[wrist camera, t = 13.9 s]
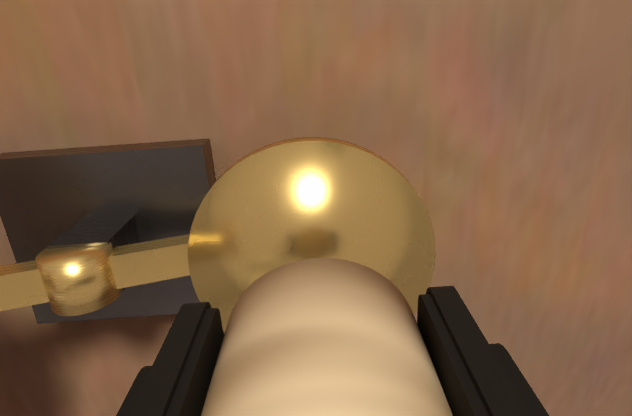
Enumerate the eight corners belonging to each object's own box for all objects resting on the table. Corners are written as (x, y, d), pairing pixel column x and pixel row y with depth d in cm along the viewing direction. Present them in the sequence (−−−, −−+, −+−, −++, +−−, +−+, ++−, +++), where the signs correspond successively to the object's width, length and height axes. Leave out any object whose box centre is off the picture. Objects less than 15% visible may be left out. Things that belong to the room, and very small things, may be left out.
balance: (405, 292, 19) (463, 431, 12) (-115, 328, 19) (-353, 488, 12) (407, 111, 16) (483, 159, 10) (-202, 154, 16) (-573, 232, 10)
